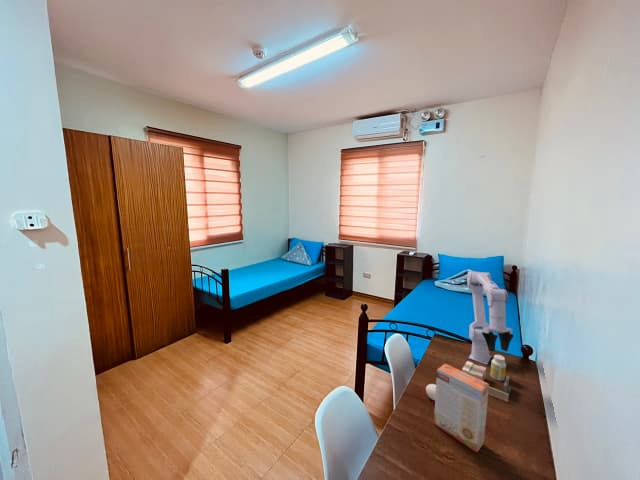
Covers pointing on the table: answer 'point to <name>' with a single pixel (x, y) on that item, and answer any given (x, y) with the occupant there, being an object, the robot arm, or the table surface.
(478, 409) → the cracker box
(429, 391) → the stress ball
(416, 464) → the table surface
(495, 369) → the supplement bottle
